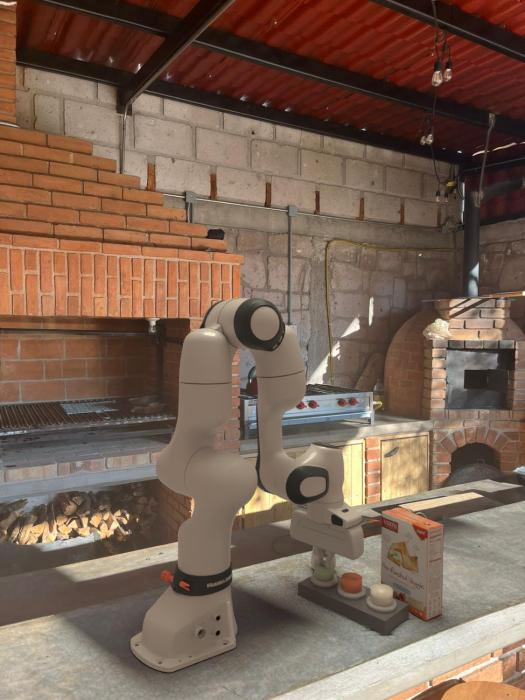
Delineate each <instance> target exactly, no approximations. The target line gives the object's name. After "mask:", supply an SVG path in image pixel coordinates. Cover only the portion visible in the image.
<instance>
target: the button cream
mask: <svg viewBox="0 0 525 700" xmlns="http://www.w3.org/2000/svg"><path fill="white" fill-rule="evenodd" d="M370 589H371V601H372V602H373V603H374V604H376V605H380V606H388V605H391V604H392V603H393V589H392V588H391V587H390V586H388V585H385V584H381V583H375V584H372V585H371V586H370Z"/></svg>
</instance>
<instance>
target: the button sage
mask: <svg viewBox="0 0 525 700" xmlns="http://www.w3.org/2000/svg"><path fill="white" fill-rule="evenodd" d="M313 570H314V571H313V572H314V573H313V574H314V577H315V579H317V580H319V581H331V580H333V579H334V574H335V568H334V565H333V564H332V565H331V567H330V568H326V567H323V566H320V565H318V563H316V564H315V565H314V569H313Z"/></svg>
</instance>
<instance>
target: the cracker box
mask: <svg viewBox="0 0 525 700" xmlns="http://www.w3.org/2000/svg"><path fill="white" fill-rule="evenodd" d="M444 528H445V525H444V524H442V523H439V522H436V521H434V520H431V519H429V518H426V517H424V516H421V515H418V514H416V513H413V512H410V511H407V510H405V509H402V508H401V507H395V508H391V509H386V510H384V511H381V542H380V543H381V546H380V547H381V549H380V550H381V551H380V584H385V585H388V586H390V587H391V588H392V589H393V598H395V599H397V600H400V601H402V602H405V603H407V604H409V613H411V614H413V615H414V616H416V617H418V618H419V619H422V620H423V621H424V622H427V621H429V620H431V619H433V618H436V617H439V616H441V615H442V614H443V590H444V589H443V584H444V582H443V581H444V579H443V578H444V542H445V541H444V539H445V538H444V537H445V536H444V535H445V531H444Z"/></svg>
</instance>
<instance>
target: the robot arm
mask: <svg viewBox="0 0 525 700" xmlns="http://www.w3.org/2000/svg"><path fill="white" fill-rule="evenodd" d="M238 350H248V351H249V352H250V353H251V355H252V357H253V359H254V367H255V374H256V382H257V383H256V384H257V400H256V405H255V423H256V439H257V443H256V444H257V454H256V455H257V456H256V463H255V465H254V464H253V462H251V461H250V460H248V459H246V458H244V457H242V456H241V455H239V454H238V453H235V452H231V451H228V450H223V449H218V448H216V439H217V435H218V433H219V431H220V429H222V428H223V427H225V426H226V425H228V423H229V422H230V420H231V419H232V415H233V370H232V369H233V367H232V366H233V363H234V362H233V361H234V358H235V356H236V353H237V351H238ZM178 371H179V373H178V375H179V376H178V377H179V378H178V386H179V387H178V408H177V409H178V411H177V413H178V414H177V420H176V425H175V429H174V432H173V434H172V437H171V439H170V442H169V443H168V444H167V446H165V447H164V448H163V449H162V450H161V451H160V453H159V454H158V457H157V460H156V462H155V463H156V464H155V472H156V476H157V478H158V480H159V482H161V484H163V485H164V486H165V487H166V488H168V489H169V490H171V491H172V492H175V494H180V495H183V496H185V497H188V498H192V500H193V511H192V514H191V516H190V517H189V518H187V519H186V520H185V521H183V523H181V525H180V526H179V528H178V533H177V563H176V565H175V568H174V571H173V573H172V572H170V571H169V570H166V569H164V570H163V571H162V572H161V574H160V578H161V579H160V580H162V581H164V582H166V583H167V584H168V583H170V585H169V587H167V588H166V590H165V591H164V592H163V593H162V594H161V596H160V597H159V598H158V599H157V600H156V601H155V602H154V604H153V605H152V606H151V607H150V608H149V609H148V610H147V611H146V613H145V615H144V618H143V622H142V630H141V631H140V632H138V633H137V634H135V635H134V636H133V637H131V638H130V651H131V652H132V654H133V655H134V656H135V657H136V659H138V660H139V661H141V662H142V663H143V664H144V665H146V666H148V667H150V668H151V669H154V670H156V671H161V672H164V673H173V672H176V671H178V670H181V669H185V668H186V667H189V666H192V665H195V664H196V663H199V662H203V661H204V660H207V659H210V658H213V657H215V656H218V655H220V654H223V653H226V652H229V651H231V650H234V649H235V648H236V647H237V640H236V636H237V634H238V624H237V622H236V618H235V614H234V607H233V600H232V599H233V597H232V587H231V586H232V585H231V584H232V583H233V563H232V561H231V550H232V549H231V548H232V547H231V546H232V545H231V544H232V530H233V526H234V522H235V519H236V517H237V515H238V513H239V511H240V510H241V509H242V508H243V507H244V506H246V505H247V504H248V503H249V502H250V501H252V499H253V498H254V495H255V493H256V491H257V488H259V489H260V490H261V491H263V492H264V493H268V494H270V495H273V496H277V497H278V498H280V499H283V500H285V501H288V502H290V503H291V504H293V505H292V506H291V508H292V509H291V511H292V514H291V517H290V518H291V519H290V523H289V534H290V537H291V539H294V540H296V541H299V542H302V543H304V544H307V545H311V546H312V547H313V546H314V551H315V553H316V556H317V558H318V565H320V566H323V567H326V568H330V567H331V565H332V559H333V557H334V556H335V557H336V555H337V556H340V557H343V558H346V559H348V560H351V561H354V560H358V559H359V558H360V557H361V558H362V556H363V555H364V552H365V537H364V530H363V527H362V526H361V524H360V523H362V521H363V516H362V515H363V514H361V513H360V512H359V511H358V510H356V509H355V508H353V506H351V505H350V504H348V503H347V502H346V501H345V495H344V491H343V486H344V483H345V461H344V455H343V451H342V449H341V448H340V447H339V446H337V445H336V444H335V445H334V444H332V443H331V444H330V443H327V442H319V441H317V442H312V443H311V444H310V446H309V448H308V449H307V450H306V451H305V452H304V453H303V454H301V455H300V456H298V457H296V458H293V457H290V456H288V454H287V453H286V451H285V449H284V447H283V446H284V445H283V444H284V443H283V442H284V441H283V417H284V415H285V413H286V412H289V411H291V410H293V409H295V408H297V406H298V405H299V404H301V402H302V401H303V399H304V397H305V396H306V394H307V393H306V391H307V376H306V370H305V365H304V357H303V353H302V350H301V346H300V343H299V340H298V336H297V333H296V331H295V330H294V328H292V327H291V326H290V325H288V324H285V322H284V320H283V317H282V313H281V312H280V310H279V309H278V307H277V306H276V305H275V304H274V302H273V303H272V302H271V301H269V300H267V299H264V298H262V297H261V298H260V297H251V298H250V297H249V298H248V297H233V298H230V299H229V298H228V299H222V300H219V301H217V302H215V303H214V304H212V305H211V306H209V308H208V309H207V310H206V312H205V314H204V316H203V319H202V322H201V324H200V326H199V328H198V329H195V330H193V331H190V332H189V333H188V334H187V335H186V336H185V338H184V339H183V345H182V349H181V355H180V362H179V370H178ZM322 549H323V550H326V555H328V556H327V558H326V557H324V554H323V551H322Z"/></svg>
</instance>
